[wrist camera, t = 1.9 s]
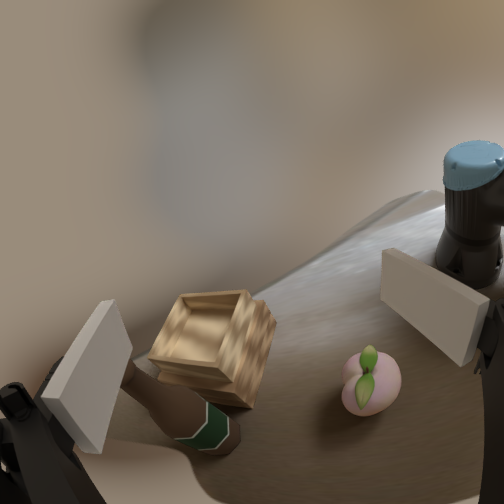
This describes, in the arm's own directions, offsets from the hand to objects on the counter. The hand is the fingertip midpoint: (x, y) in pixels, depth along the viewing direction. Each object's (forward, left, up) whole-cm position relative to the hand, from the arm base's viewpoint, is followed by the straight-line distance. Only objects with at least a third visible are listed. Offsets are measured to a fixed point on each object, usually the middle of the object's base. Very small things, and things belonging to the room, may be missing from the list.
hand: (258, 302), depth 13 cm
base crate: (-14, -24, -33) cm, 43 cm away
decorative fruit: (-8, +3, -33) cm, 34 cm away
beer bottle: (+1, -20, -33) cm, 38 cm away
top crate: (-14, -24, -26) cm, 38 cm away
